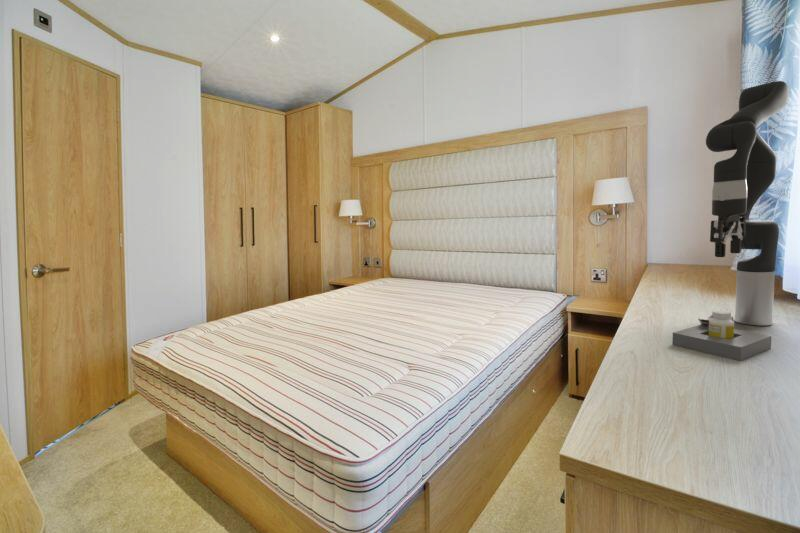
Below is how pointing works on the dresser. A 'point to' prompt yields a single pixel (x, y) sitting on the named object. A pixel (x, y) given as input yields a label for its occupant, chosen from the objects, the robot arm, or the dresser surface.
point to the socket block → (722, 342)
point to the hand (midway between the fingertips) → (727, 255)
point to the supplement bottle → (721, 325)
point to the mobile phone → (706, 322)
